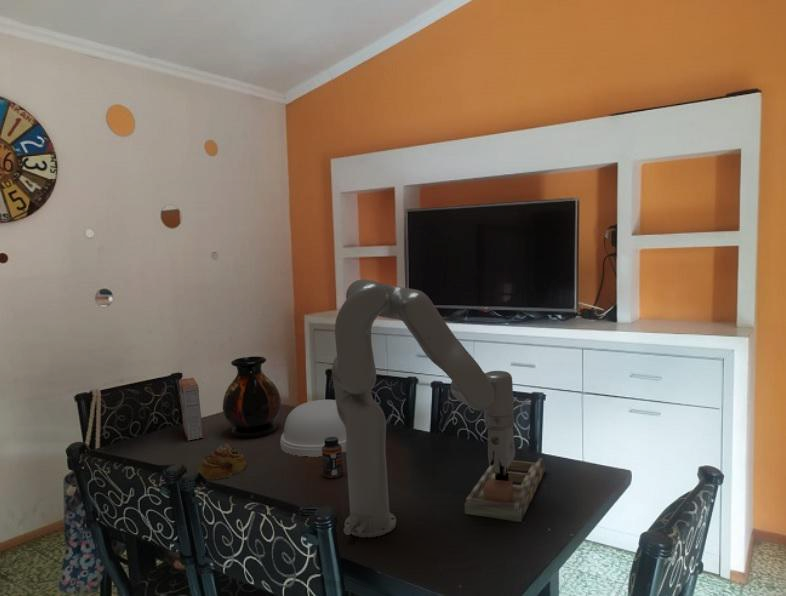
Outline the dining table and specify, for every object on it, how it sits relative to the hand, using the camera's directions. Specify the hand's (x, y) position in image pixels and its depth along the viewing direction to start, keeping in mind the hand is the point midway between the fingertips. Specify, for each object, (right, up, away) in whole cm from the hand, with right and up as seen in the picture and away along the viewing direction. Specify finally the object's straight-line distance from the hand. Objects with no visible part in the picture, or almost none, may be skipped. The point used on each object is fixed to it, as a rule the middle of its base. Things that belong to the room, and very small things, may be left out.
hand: (502, 488), depth 153 cm
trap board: (+3, -3, +6) cm, 7 cm away
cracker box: (-104, -3, +70) cm, 126 cm away
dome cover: (-53, -2, +55) cm, 77 cm away
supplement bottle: (-46, -4, +24) cm, 52 cm away
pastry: (-82, -6, +33) cm, 89 cm away
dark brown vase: (-81, -2, +71) cm, 108 cm away
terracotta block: (-2, -2, -5) cm, 5 cm away
